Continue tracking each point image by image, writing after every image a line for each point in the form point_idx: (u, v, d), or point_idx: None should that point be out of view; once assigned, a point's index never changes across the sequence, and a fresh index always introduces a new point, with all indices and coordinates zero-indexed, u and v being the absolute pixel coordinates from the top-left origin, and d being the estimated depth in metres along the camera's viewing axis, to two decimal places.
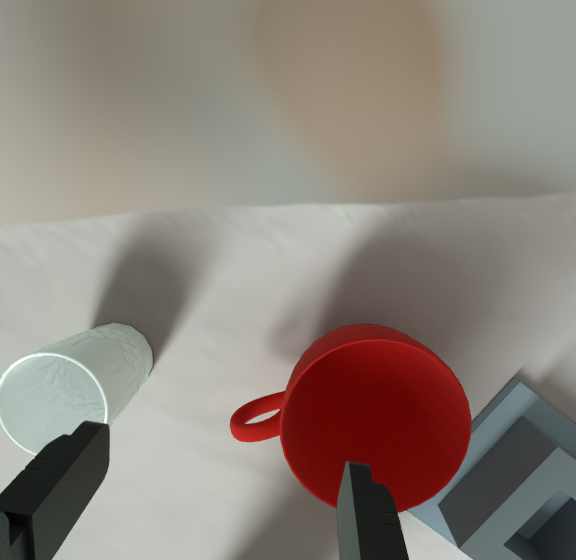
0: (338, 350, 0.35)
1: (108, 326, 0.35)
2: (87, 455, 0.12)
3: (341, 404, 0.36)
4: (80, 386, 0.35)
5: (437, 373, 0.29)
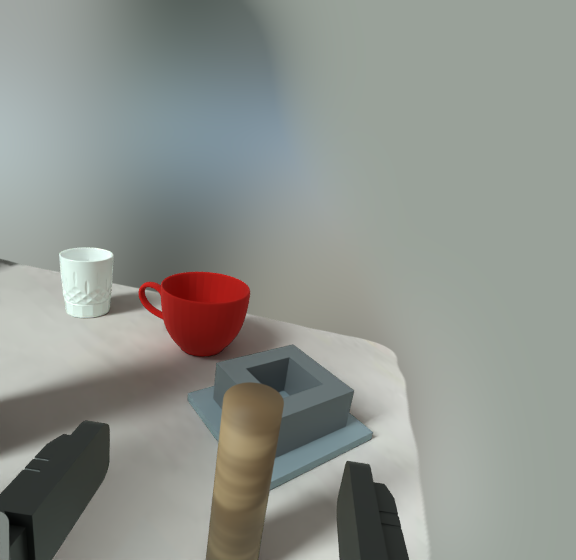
0: None
1: None
2: (87, 455, 0.12)
3: None
4: None
5: None
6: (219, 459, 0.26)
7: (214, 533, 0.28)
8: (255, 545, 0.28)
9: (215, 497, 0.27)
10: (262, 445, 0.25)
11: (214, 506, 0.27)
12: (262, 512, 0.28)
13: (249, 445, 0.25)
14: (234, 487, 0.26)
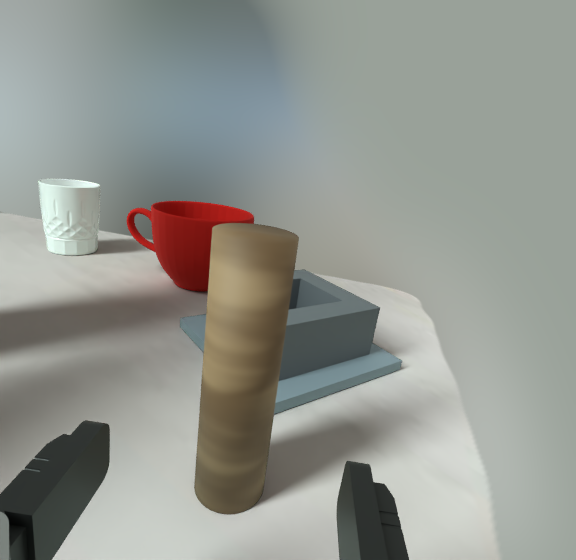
0: None
1: None
2: (87, 455, 0.12)
3: None
4: None
5: None
6: (208, 320, 0.18)
7: (204, 433, 0.20)
8: (260, 452, 0.21)
9: (204, 380, 0.20)
10: (269, 288, 0.17)
11: (203, 394, 0.20)
12: (270, 403, 0.20)
13: (249, 286, 0.17)
14: (229, 356, 0.18)
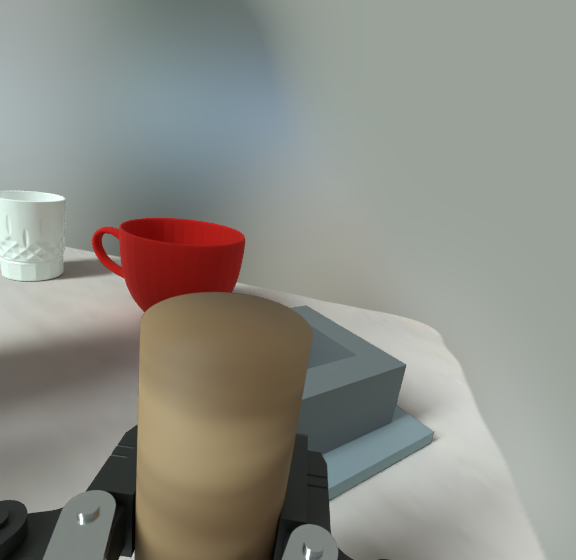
0: None
1: None
2: None
3: None
4: None
5: None
6: (137, 487, 0.10)
7: None
8: None
9: None
10: (254, 449, 0.08)
11: None
12: None
13: (212, 449, 0.08)
14: None
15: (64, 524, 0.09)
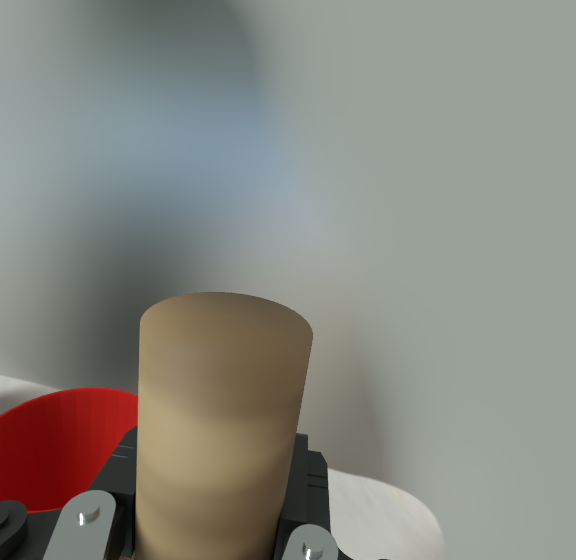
0: None
1: None
2: None
3: None
4: None
5: None
6: (137, 487, 0.10)
7: None
8: None
9: None
10: (253, 449, 0.08)
11: None
12: None
13: (211, 449, 0.08)
14: None
15: (64, 524, 0.09)
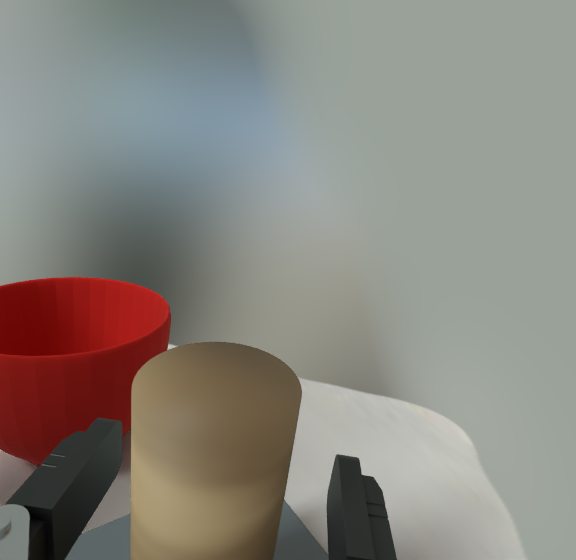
0: None
1: None
2: (102, 451, 0.12)
3: None
4: None
5: None
6: (131, 540, 0.10)
7: None
8: None
9: None
10: (242, 512, 0.09)
11: None
12: None
13: (201, 515, 0.08)
14: None
15: None
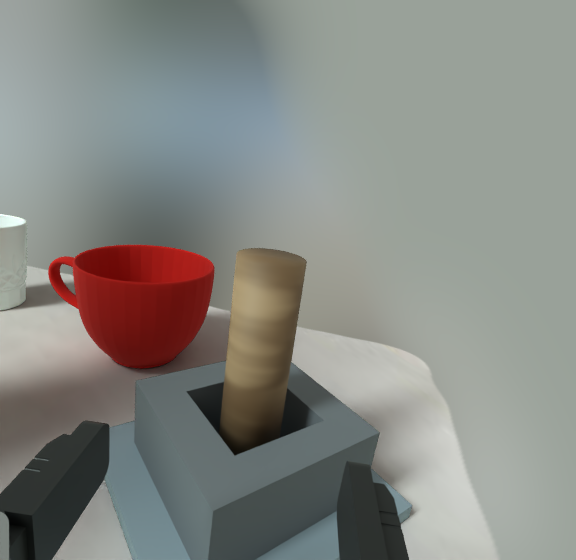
0: None
1: None
2: (87, 455, 0.12)
3: None
4: None
5: None
6: (232, 328, 0.23)
7: (226, 423, 0.24)
8: (272, 439, 0.25)
9: (227, 378, 0.24)
10: (283, 303, 0.21)
11: (226, 390, 0.24)
12: (281, 397, 0.24)
13: (267, 301, 0.21)
14: (249, 358, 0.22)
15: None
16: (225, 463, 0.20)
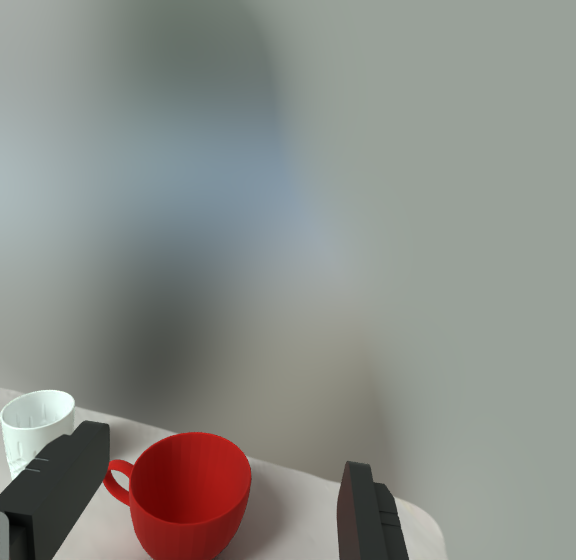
0: (185, 513, 0.48)
1: None
2: (87, 455, 0.12)
3: None
4: None
5: (242, 495, 0.45)
6: None
7: None
8: None
9: None
10: None
11: None
12: None
13: None
14: None
15: None
16: None
